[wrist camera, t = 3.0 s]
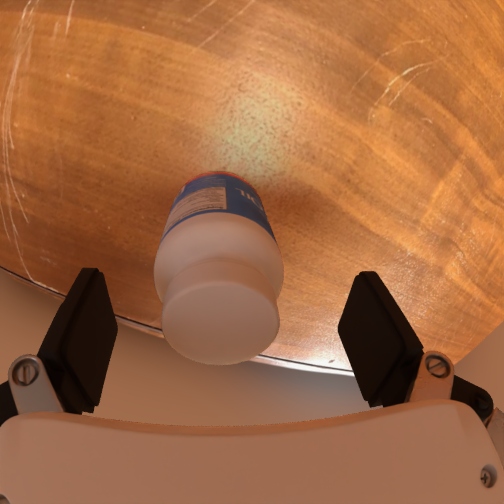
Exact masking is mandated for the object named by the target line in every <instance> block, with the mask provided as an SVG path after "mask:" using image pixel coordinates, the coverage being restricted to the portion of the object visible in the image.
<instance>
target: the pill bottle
mask: <svg viewBox="0 0 504 504" xmlns="http://www.w3.org/2000/svg"><path fill="white" fill-rule="evenodd" d="M283 280H284V266H283V261H282V257H281V254H280V250H279V248H278V245H277V242H276V240H275V237H274V234H273V232H272V229H271V226H270V224H269V221H268V218H267V216H266V213H265V211H264V208H263V205H262V202H261V200H260V198H259V195H258V194H257V192H256V191H255V189H254V188H253V187H252V186H251V185H250V184H249V183H248V182H247V181H246V180H244V179H243V178H241V177H239V176H237V175H235V174H232V173H228V172H221V171H217V172H208V173H204V174H201V175H198V176H196V177H194V178H192V179H191V180H189V181H188V182H187V183H186V184H185V185H184V186H183V187H182V188H181V189H180V191H179V192H178V194H177V196H176V198H175V199H174V202H173V205H172V208H171V210H170V213H169V216H168V219H167V222H166V225H165V228H164V231H163V235H162V238H161V241H160V244H159V247H158V251H157V255H156V259H155V263H154V284H155V288H156V291H157V294H158V296H159V298H160V300H161V302H162V303H163V309H162V318H161V327H162V331H163V334H164V337H165V339H166V340H167V342H168V343H169V344H170V346H171V347H172V348H173V349H174V350H175V351H177V352H178V353H179V354H181V355H183V356H184V357H186V358H188V359H191V360H193V361H197V362H200V363H204V364H210V365H227V364H235V363H239V362H243V361H246V360H249V359H251V358H253V357H255V356H257V355H259V354H260V353H262V352H263V351H264V350H266V349H267V348H268V347H269V346H270V345H271V343H272V342H273V341H274V339H275V338H276V336H277V333H278V330H279V325H280V319H279V312H278V308H277V301H276V300H277V298H278V296H279V294H280V291H281V288H282V285H283Z"/></svg>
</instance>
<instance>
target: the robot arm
mask: <svg viewBox="0 0 504 504" xmlns="http://www.w3.org/2000/svg"><path fill="white" fill-rule="evenodd" d="M117 327H118V326H117V322H116V319H115V315H114V312H113V308H112V305H111V301H110V297H109V294H108V290H107V286H106V282H105V278H104V274H103V273H102V272H99V270H98V268H85V267H84V268H82V269H81V271H80V273H79V274H78V276H77V278H76V280H75V282H74V283H73V285H72V287H71V289H70V291H69V292H68V294H67V296H66V298H65V300H64V302H63V303H62V304H61V306H60V307H59V309H58V311H57V313H56V315H55V317H54V319H53V321H52V323H51V325H50V328H49V330H48V332H47V334H46V336H45V338H44V340H43V343H42V345H41V347H40V349H39V352H38V354H37V356H35V355H31V354H28V355H23V356H20V357H19V358H17V359H16V360H15V361H14V362H13V363H12V364H11V366H10V368H9V371H8V381H6V382H4V383H2V384H1V385H0V504H504V413H503V412H502V411H501V410H499V409H498V408H495V409H493V400H492V398H491V396H490V395H489V394H488V392H487V391H485V390H484V389H482V388H480V387H478V386H476V385H474V384H472V383H470V382H468V381H466V380H464V379H462V378H460V377H458V376H456V375H454V366H453V364H452V362H451V360H450V359H449V358H448V357H447V356H446V355H444V354H443V353H441V352H438V351H428V352H426V353H425V354H424V352H423V350H422V349H423V348H424V347H423V345H422V344H421V342H420V340H419V339H418V337H417V335H416V333H415V332H414V330H413V329H412V327H411V325H410V324H409V322H408V320H407V319H406V317H405V316H404V314H403V312H402V311H401V309H400V308H399V306H398V304H397V303H396V301H395V300H394V298H393V297H392V295H391V294H390V292H389V291H388V289H387V288H386V286H385V285H384V283H383V282H382V280H381V279H380V277H379V276H378V274H377V273H376V272H375V271H362V272H360V273H359V275H357V276H356V277H355V279H354V282H353V285H352V288H351V290H350V293H349V296H348V299H347V302H346V305H345V308H344V310H343V313H342V316H341V319H340V321H339V324H338V334H339V336H340V339H341V341H342V344H343V346H344V349H345V351H346V354H347V357H348V359H349V362H350V364H351V367H352V370H353V372H354V375H355V377H356V380H357V383H358V385H359V388H360V391H361V393H362V396H363V398H364V400H365V401H368V403H369V406H370V408H371V407H376V406H380V405H383V408H380V409H376V410H370V411H365V412H360V413H354V414H349V415H343V416H337V417H331V418H325V419H317V420H310V421H302V422H292V423H282V424H270V425H253V426H214V427H213V426H212V427H210V426H175V425H160V424H148V423H138V422H129V421H120V420H112V419H104V418H97V417H91V416H85V415H82V411H83V412H88V413H93V411H94V407H95V406H98V405H99V402H100V398H101V393H102V389H103V385H104V381H105V377H106V372H107V369H108V365H109V361H110V358H111V354H112V350H113V347H114V343H115V340H116V336H117V331H118V328H117Z"/></svg>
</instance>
